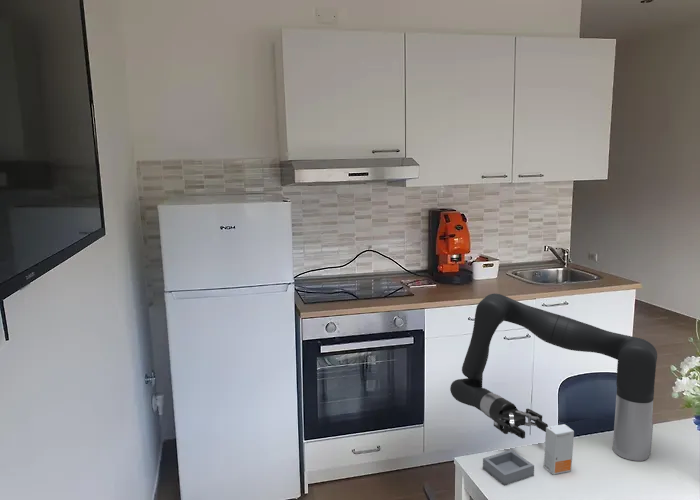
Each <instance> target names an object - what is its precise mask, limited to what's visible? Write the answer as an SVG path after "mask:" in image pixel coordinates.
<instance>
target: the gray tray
mask: <svg viewBox="0 0 700 500" xmlns="http://www.w3.org/2000/svg"><path fill="white" fill-rule="evenodd" d="M482 469H483V470H484V471H486V472H487V473H488V474H489V475H490V476H492V477H493V478H494V479H496V480H497V481H498V482H499V483H500V484H502V485H503V486H508V485H510V484H513V483H516V482H519V481H522V480H523V481H524V480H526V479H529V478H532V477H534V475H535V465H534V464H533V463H531V462H530V461H529V460H527V459H526V458H524V457H523V456H521V455H520V454H519V453H517V452H516V451H514V450H513V449H508V450H507V451H506V450H505V451H503V452H499V453H496V454H492V455H490V456H486V457H483V458H482Z"/></svg>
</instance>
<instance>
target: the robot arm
mask: <svg viewBox="0 0 700 500" xmlns="http://www.w3.org/2000/svg"><path fill="white" fill-rule="evenodd" d="M476 305H477V306H476V307H475V308H476V309H475V314H474V320H473V321H474V322H473V329H472V334H471V338H470V341H469V345H468V348H467V352H466V355H465V357H464V360H463V363H462V366H461V373H462V374H463V375H464V377H466V378H460V379H455V380H453V381H452V383H451V384H450V386H449V390H450V394H451V396H452V397H453V398H454V399H455V400H456V401H457V402H459V403H461V404H463V405H467V406H471V407H474V408H475V409H477V410H479V411H480V412H482V413H483V414H484V415H485V416H487V417H488V418H490V419H491V420H493V427H494V428H496V429H498V431H500V432H501V433H502V434H505V435H508V434H509V433H510V434H511V435H512V434H513V435H515V436H517V437H519V438H520V439H526V431H525V430H523V429H522V428H521V427H520V426H524V427H525V426H526V427H531V426H532V427H537V429H539V430H540V431H543V432H545V433H546V427H549V425H548V424H547V423H546V422H544V421H543V414H540V413H538V412H536V411H534V410H532V409H530V408H526V409H525V411H521V410H518V408H517V407H516V405H515V404H514V403H512V402H511V401H510V400H507V399H506V398H504V397H502V396H500V395H499V394H496V393H494V392H493V391H490V390H488V389H487V388H485V387H483V374H484V371H485V369H486V366H487V362H488V359H489V354H490V346H491V341H492V339H493V336H494V334H495V332H496V330H497V329H498V328H499V326H500V325H501V324H502V323H503V322H508V323H511V324H515V325H518V326H520V327H523V328H525V329H526V330H528V331H529V332H531V333H532V334H533V335H534V336H536V337H537V338H538V339H540V340H542V341H543V342H545V343H548V344H550V345H553V346H555V347H558V348H562V349H563V350H565V349H566V350H569V351H575V352H576V351H577V352H583V353H584V352H585V353H596V354H601V355H604V356H607V357H609V358H613V359H615V360H617V365H616V367H617V368H616V383H615V384H616V385H615V386H616V393H615V395H616V396H615V411H614V422H613V423H614V425H613V439H612V440H613V441H612V450H613V452H614V453H615V454H616V455H617V456H619V457H620V458H623V459H626V460H629V461H638V462H642V461H646V460H648V459H649V457H650V454H652V446H653V444H652V443H653V442H652V441H653V431H654V423H653V408H654V399H655V398H654V397H655V381H656V373H657V372H656V370H657V362H658V361H657V360H658V352H657V350H656V347H655V345H653V344H652V343H651V342H650V341H648V340H646V339H643V338H641V337H635V336H631V335H626V334H621V333H616V332H613V331H610V330H606V329H602V328H599V327H597V326H594V325H592V324H588V323H587V322H582V321H578V320H576V319H573V318H570V317H567V316H566V315H565V316H564V315H561V314H558V313H553V312H550V311H547V310H544V309H541V308H537V307H534V306H531V305H528V304H525V303H522V302H520V301H518V300H515V299H512V298H511V297H508V296H506V295H503V294H501V293H490V294H488V295H485V297H484V298H482V299H481V300H480V301H479V303H477V304H476ZM526 418H527V420H526ZM526 421H527V422H526Z"/></svg>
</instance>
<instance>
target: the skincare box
mask: <svg viewBox="0 0 700 500" xmlns="http://www.w3.org/2000/svg"><path fill="white" fill-rule="evenodd" d="M574 436H575V431H574V430H573V429H572V428H570V426H568V425H566V424H564V423H563V424H556V425H555V424H554V425H551V426H548V427H546V432H545V441H544V458H543V467H544V468H545V469H546V470H547V471H548V472H550V474H552V475H558V474H563V473H564V474H565V473H569V472H572V468H573V464H572V463H573V453H574V452H573V450H574Z"/></svg>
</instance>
